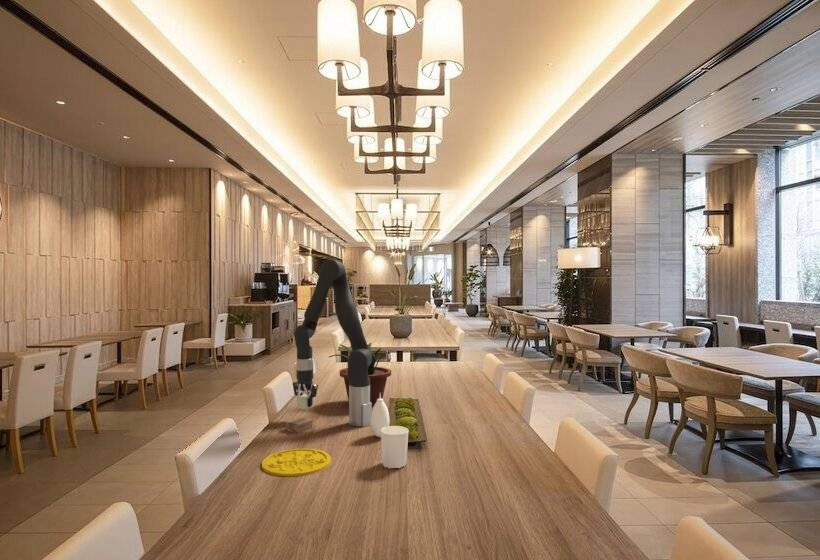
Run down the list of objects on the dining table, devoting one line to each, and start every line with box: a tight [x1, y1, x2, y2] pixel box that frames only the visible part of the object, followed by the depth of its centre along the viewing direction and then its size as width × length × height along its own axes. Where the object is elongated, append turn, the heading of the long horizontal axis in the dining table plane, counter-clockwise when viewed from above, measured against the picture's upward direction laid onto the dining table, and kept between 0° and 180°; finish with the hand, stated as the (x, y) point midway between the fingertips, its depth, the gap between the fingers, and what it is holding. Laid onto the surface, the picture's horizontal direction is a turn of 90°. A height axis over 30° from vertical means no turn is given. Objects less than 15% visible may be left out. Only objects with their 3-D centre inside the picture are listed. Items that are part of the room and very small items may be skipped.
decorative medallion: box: [261, 448, 332, 477], centre depth 169 cm, size 24×24×2 cm
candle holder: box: [380, 425, 410, 469], centre depth 168 cm, size 10×10×12 cm
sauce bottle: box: [369, 394, 390, 438], centre depth 198 cm, size 8×8×18 cm
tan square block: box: [284, 416, 314, 434], centre depth 207 cm, size 8×8×4 cm
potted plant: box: [328, 342, 392, 409], centre depth 249 cm, size 35×32×30 cm
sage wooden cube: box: [296, 394, 314, 410], centre depth 220 cm, size 5×5×5 cm
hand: (305, 405), depth 220 cm, fingers closed on sage wooden cube, 5 cm apart
